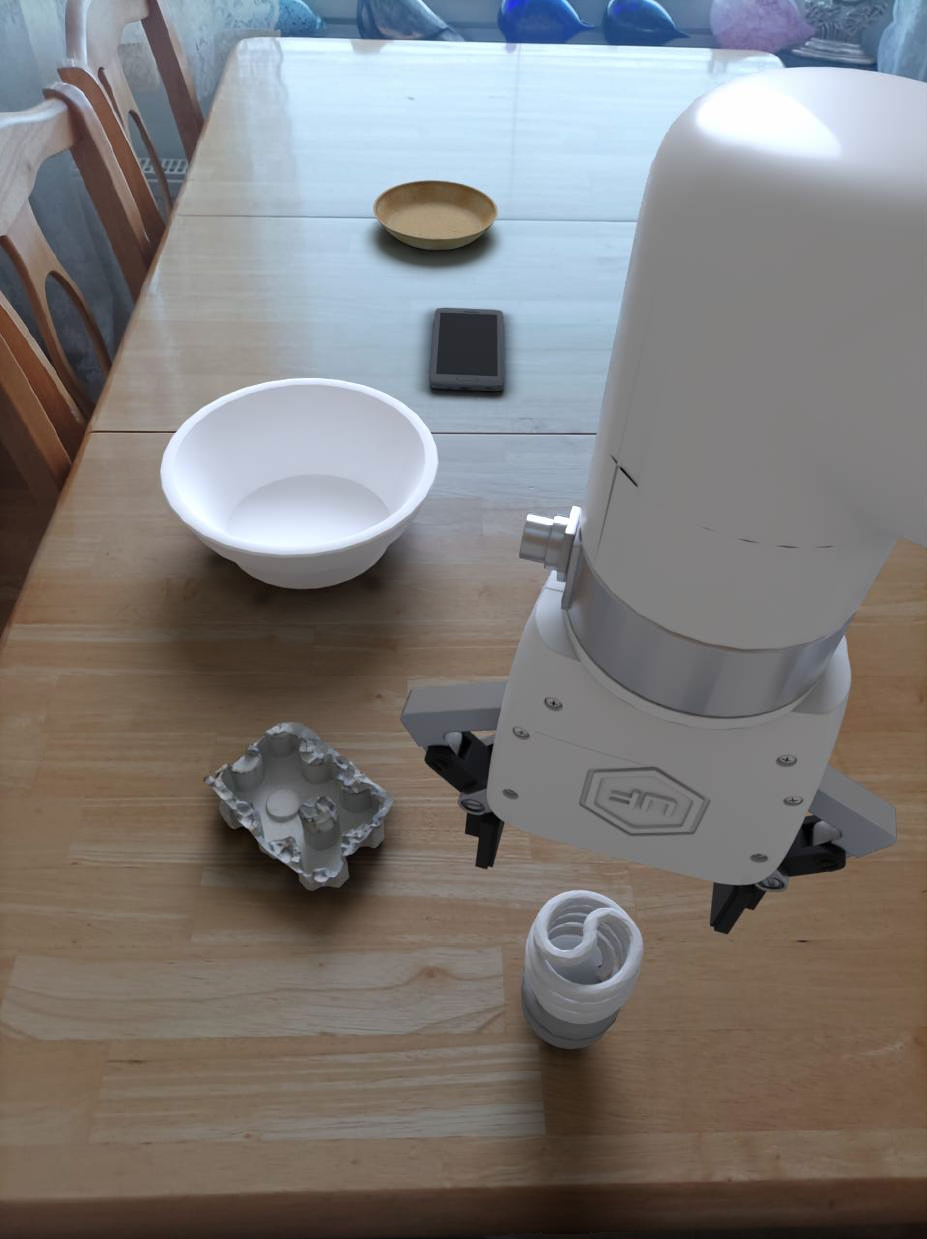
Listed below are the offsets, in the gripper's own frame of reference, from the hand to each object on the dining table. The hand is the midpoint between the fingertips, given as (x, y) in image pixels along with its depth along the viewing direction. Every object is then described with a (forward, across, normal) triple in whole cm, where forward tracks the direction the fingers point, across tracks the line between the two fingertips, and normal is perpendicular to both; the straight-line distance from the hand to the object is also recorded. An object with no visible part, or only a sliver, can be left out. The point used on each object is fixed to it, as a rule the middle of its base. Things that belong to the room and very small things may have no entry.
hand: (604, 867), depth 39 cm
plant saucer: (+19, -32, +86) cm, 94 cm away
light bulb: (+19, +1, 0) cm, 19 cm away
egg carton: (+19, -18, +8) cm, 27 cm away
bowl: (+19, -27, +33) cm, 46 cm away
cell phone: (+19, -21, +62) cm, 69 cm away
